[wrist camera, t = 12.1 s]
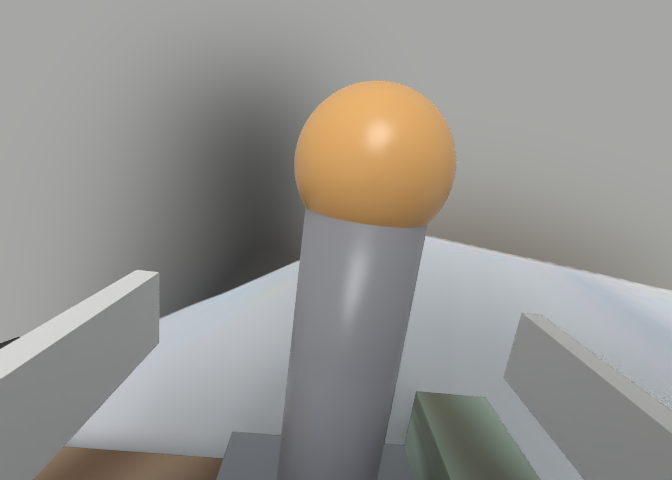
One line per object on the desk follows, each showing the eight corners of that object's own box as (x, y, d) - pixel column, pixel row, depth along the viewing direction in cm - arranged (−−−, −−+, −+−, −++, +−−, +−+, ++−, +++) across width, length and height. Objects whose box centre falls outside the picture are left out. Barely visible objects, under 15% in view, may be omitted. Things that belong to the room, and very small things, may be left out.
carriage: (393, 495, 16) (473, 122, 12) (455, 804, 8) (739, 60, 4) (229, 483, 16) (253, 91, 12) (135, 800, 8) (108, -43, 4)
